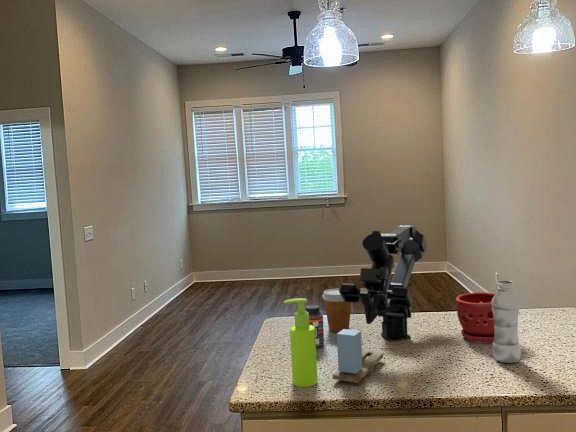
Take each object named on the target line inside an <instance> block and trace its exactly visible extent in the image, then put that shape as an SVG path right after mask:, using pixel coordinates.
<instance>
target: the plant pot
mask: <svg viewBox="0 0 576 432" xmlns="http://www.w3.org/2000/svg"><path fill="white" fill-rule="evenodd" d="M495 294H496V293H494V292H493V293H492V292H468V293H463V294H460V295H457V296H456V297H455V307H456V312H457V318H458V321H459V325H460V326H461V328H462V329H461V331H460V333H461V335H462V336H463V338H465V339H466V340H467V341H470V342H475V343H480V344H487V343H488V344H489V343H493V342H494V329H495V328H494V317H493V311H492V305H491V301H492V298H493V297H494V295H495Z"/></svg>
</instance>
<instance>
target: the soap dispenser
mask: <svg viewBox="0 0 576 432" xmlns="http://www.w3.org/2000/svg"><path fill="white" fill-rule="evenodd" d="M283 303H284V304H285V305H290V304H297V311H296V312H294V325H293V326H292V325H291V326H290V327H289V335H290V336H289V337H290V354H291V356H290V357H291V374H292V375H291V376H292V378H291V379H292V384H293V385H294V386H296V387H301V388H307V387H312V386H314V385H316V384H317V383H318V367H317V362H318V361H317V348H316V340H315V327H314V326H312V325H309V313H308V312H307V311H305V307H306V303H308V299H307V298H304V297H302V298H301V297H299V298H298V297H297V298H289V299H286V300H284V301H283Z"/></svg>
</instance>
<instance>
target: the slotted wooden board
mask: <svg viewBox="0 0 576 432" xmlns="http://www.w3.org/2000/svg"><path fill="white" fill-rule="evenodd" d="M383 358H384V352H378V351H371V350H370V351H369V350H364V349H363V350H362V369H361V370H360V371H359V372H358V373H357V374H353V373H351V374H350V375H347V372H340V371H339V369H338V368H337V370H336V371H335V372H334V373H333V374H332V379H333V380H338V381H345V382H351V383H356V384H358V383H359V382H360V381H361V380H362V379H363V378H365V376H366V377H369V376H370V375H371V374H372V373H373V372H374V371H375V369H374V367H375V366H376V365H377V364H378V363H379V362H380V361H381V360H382V359H383Z"/></svg>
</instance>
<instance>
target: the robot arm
mask: <svg viewBox="0 0 576 432" xmlns="http://www.w3.org/2000/svg"><path fill="white" fill-rule="evenodd" d="M361 245H362V247H363V249H364V252H365V254H366V255H367V258H368V260H369V261H371V266H370V267H368V268H367V267H361V268H360V272H359V281H360V282H362V287H360V289H359V288H358V287H357V286H356V284H355V283H345V282H343V283H342V284H341V285H340V286H339V288H338V289H339V293H340V294H341V296H342V298H343V299H344V301H346V302H351V304H352V303H353V304H356V303H358V302H359V301H360V302H361V304H362V305H363V307H364V315H365V322H366V324H367V325H371V324H372V323H373V321H374V320H375V319H376V318H377V317H382V321H381V333H380V336H381V337H383V338H386V339H387V340H389V341H392V342H393V341H398V340H404V339H408V338H411V335H410V334H408V319H411V318H412V304H413V296H412V294H411V291H410V289H409V288H408V284H409V281H410V278H411V275H412V272H413V270H414V266H415V264H416V262H418V261H419V260H422V259H423V257H424V254H425V252H426V251H427V248H428V247H427V245H428V244H427V241H426V238H425V236H424V234H422V233H421V232H419V231H418V230H417V228H416V226H414V225H408V224H405V225H402V224H400V225H398V226H397V228H395V229H393V230H392V231H390V232H389V233H386V232H385V233H381V231H380V230H373V231H371V233H370V234H368V235H367V236H366V237H364V239H362V242H361ZM399 254H400V257H399V260H398V261H397V265H396V268H395V258H394V256H393V255H399ZM394 268H395V270H394V273H393V276H392V272H393V269H394ZM391 276H392V277H391Z"/></svg>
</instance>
